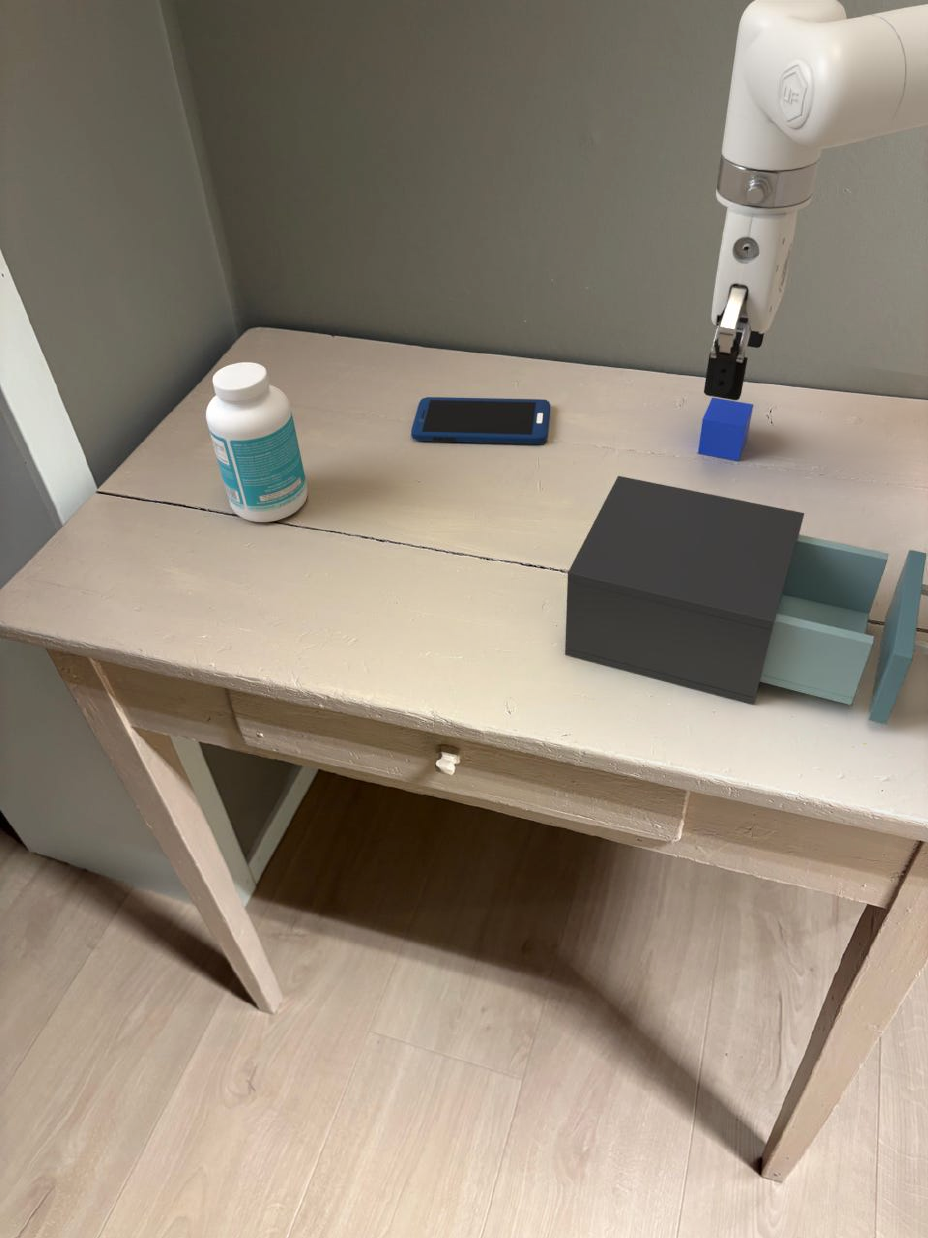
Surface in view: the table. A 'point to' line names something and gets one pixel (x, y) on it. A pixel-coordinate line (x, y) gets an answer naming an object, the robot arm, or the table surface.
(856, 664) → the drawer
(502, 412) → the cell phone
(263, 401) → the pill bottle
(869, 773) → the table surface
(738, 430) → the blue block
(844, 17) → the robot arm
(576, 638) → the dark grey drawer cabinet
